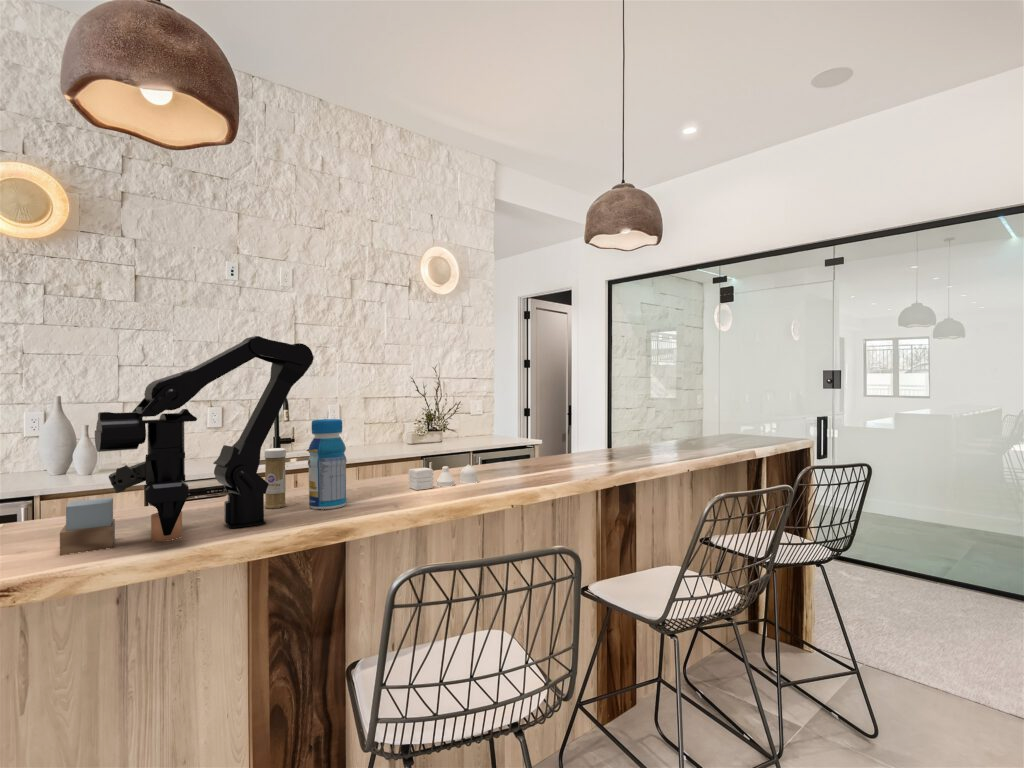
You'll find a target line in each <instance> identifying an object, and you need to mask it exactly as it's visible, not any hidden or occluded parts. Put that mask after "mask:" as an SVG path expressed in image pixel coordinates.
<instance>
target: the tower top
mask: <svg viewBox="0 0 1024 768" xmlns="http://www.w3.org/2000/svg"><path fill="white" fill-rule="evenodd" d="M113 519H114V496H111V497H103V498H101V497H100V498H92V499H90V498H89V499H82V500H71V501H70V502H69V503H68V504H67V505H66V507H65V525H66V531H71V530H79V529H87V528H96V527H104V526H111V524H112V521H113Z"/></svg>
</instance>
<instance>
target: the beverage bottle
mask: <svg viewBox="0 0 1024 768" xmlns="http://www.w3.org/2000/svg"><path fill="white" fill-rule="evenodd" d="M340 434H341V435H342V434H343V420H342V419H340V418H325V419H324V418H323V419H313V420H311V435H313V436H314V437H313V439H312V440H311V442H310V444H309V446H308V449H307V450H308V453H309V457H308V459H307V465H308V498H309V499H308V506H309V508H311V509H312V510H317V509H321V511H324V509H325V511H326V509H327V510H334V509H340V508H342V507H344V506H346V504H347V462H348V460H347V456H346V455H345V454H346V453H345V452H346V449H347V448H346V447H347V446H346V445H345V442H344V440H343V439H342V438H341V436H340Z"/></svg>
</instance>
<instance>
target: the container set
mask: <svg viewBox="0 0 1024 768" xmlns="http://www.w3.org/2000/svg"><path fill="white" fill-rule="evenodd" d="M449 468H450V467H449V466H448V465H445V466H442V468H441V469H442V470H441V473H440V474H439V476H438V478H437V480H436V486H437V485H438V486H451V485H454V486H455V479H454V477H453V476H452V474H451V473H450V469H449ZM459 477H460V481H459V484H461V483H475V484H477V483H476V482H478V483H479V481H478V471H477V469H476V467H474V466H471V464H466V466H464V467H463V468H462V469H461V471H460V473H459ZM438 486H437V487H438ZM408 487H409V489H411V490H414V491H415V490H416V491H421V490H427V489H433V488H434V470H433V469H432V468H428V467H418V468H410V469H408ZM451 487H452V486H451Z"/></svg>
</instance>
